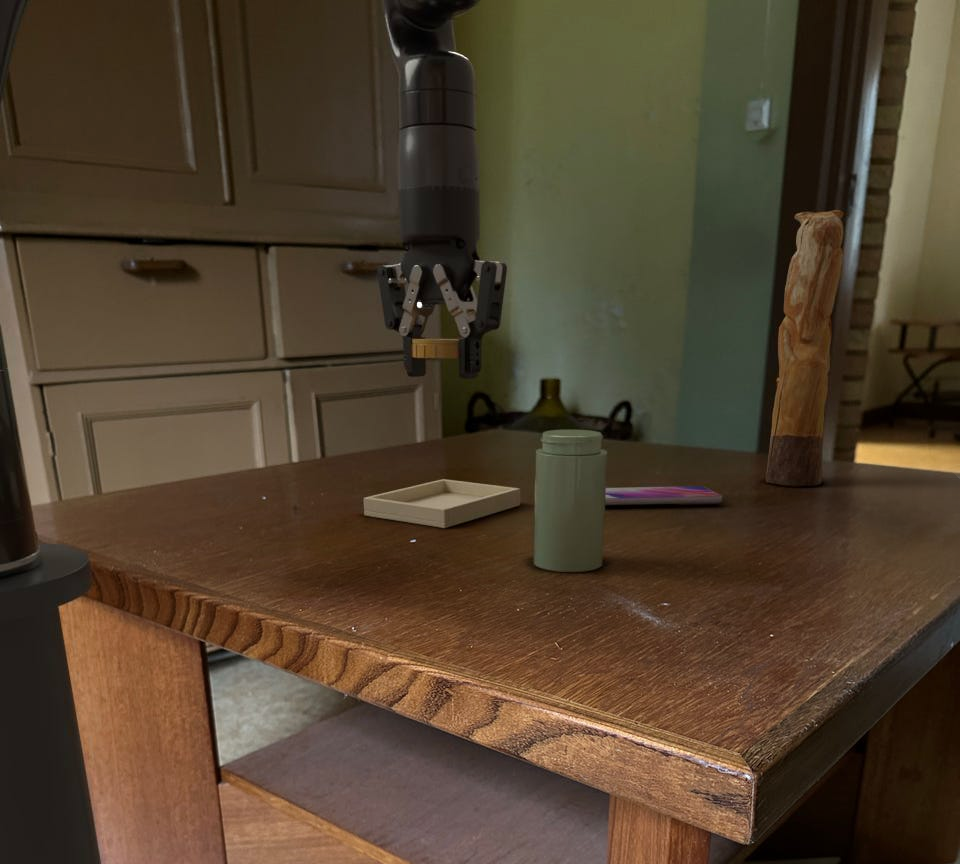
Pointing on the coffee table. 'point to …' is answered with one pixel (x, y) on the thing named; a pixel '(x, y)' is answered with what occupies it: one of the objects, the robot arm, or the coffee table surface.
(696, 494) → the smartphone
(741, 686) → the coffee table surface
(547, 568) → the jar
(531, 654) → the coffee table surface
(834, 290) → the sculpture
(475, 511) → the tray
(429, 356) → the jar lid
